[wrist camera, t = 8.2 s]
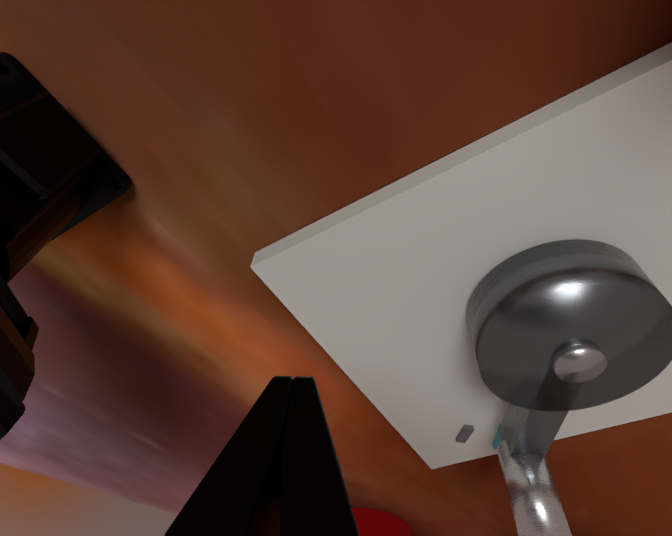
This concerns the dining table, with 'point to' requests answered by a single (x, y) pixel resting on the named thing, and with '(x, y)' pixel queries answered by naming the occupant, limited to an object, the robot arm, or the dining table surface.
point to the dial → (561, 354)
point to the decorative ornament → (380, 523)
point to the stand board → (484, 255)
